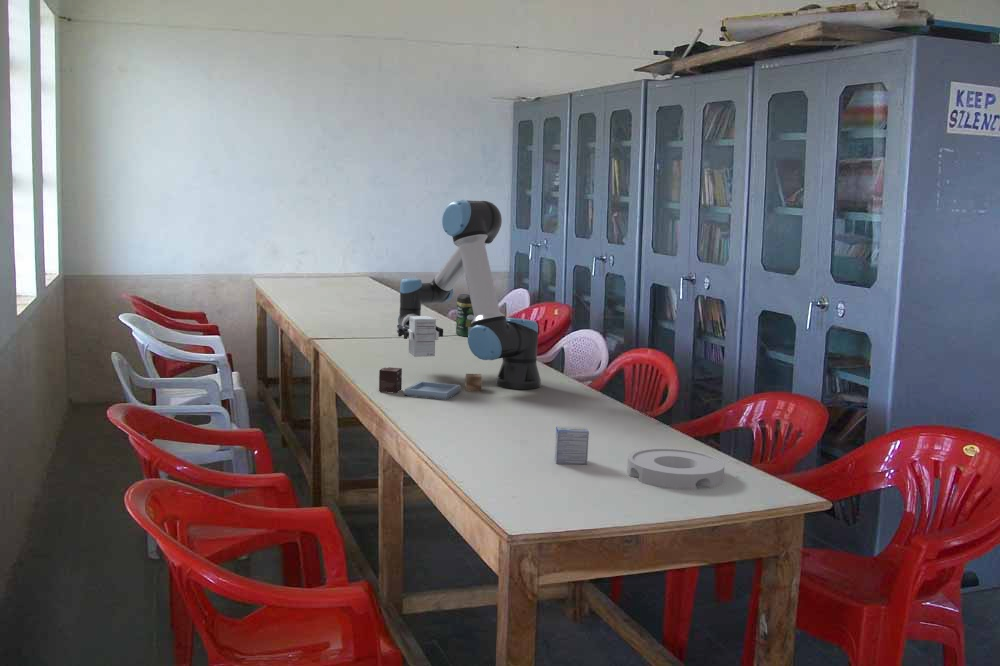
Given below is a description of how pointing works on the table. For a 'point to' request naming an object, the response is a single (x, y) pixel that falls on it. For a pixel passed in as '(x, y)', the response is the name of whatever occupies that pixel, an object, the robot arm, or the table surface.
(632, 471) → the ashtray
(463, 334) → the coffee jar
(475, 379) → the walnut block
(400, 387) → the box
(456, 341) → the table surface
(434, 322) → the supplement box
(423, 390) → the tray
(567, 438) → the medicine box
